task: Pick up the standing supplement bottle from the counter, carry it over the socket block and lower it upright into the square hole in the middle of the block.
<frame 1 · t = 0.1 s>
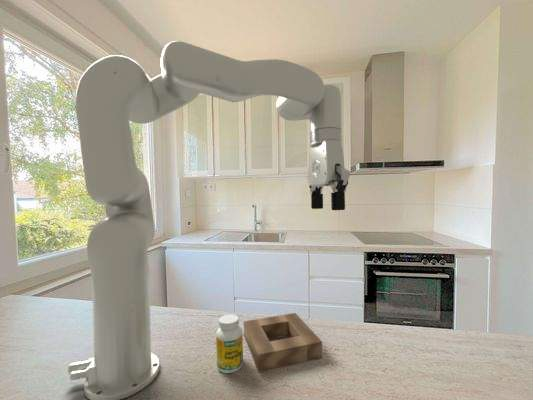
hand: (326, 209, 61), 31 cm above the countertop, tool pointing down, fingers open, 9 cm apart
socket block: (279, 345, 57), on the countertop
supplement bottle: (230, 366, 51), on the countertop
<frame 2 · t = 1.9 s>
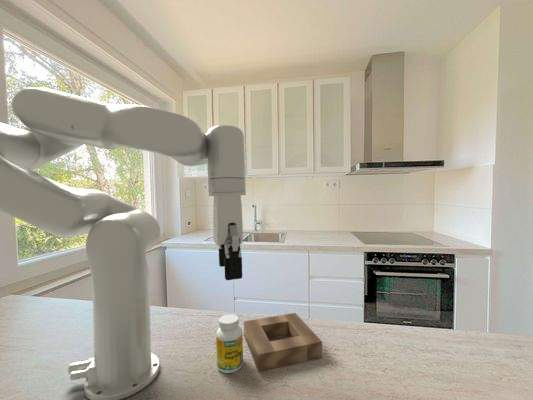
hand: (229, 271, 51), 19 cm above the countertop, tool pointing down, fingers open, 9 cm apart
nothing on the countertop moved.
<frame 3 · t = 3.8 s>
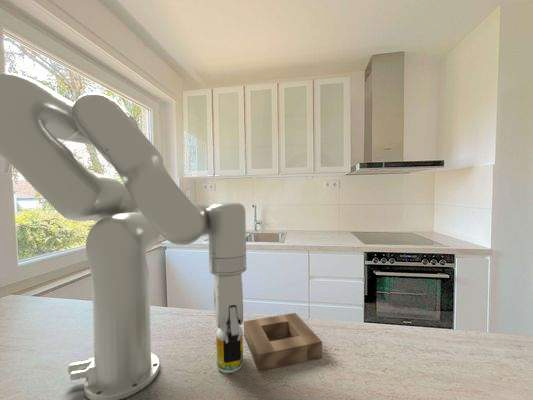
hand: (229, 350, 51), 3 cm above the countertop, tool pointing down, fingers closed on supplement bottle, 5 cm apart
supplement bottle: (230, 366, 51), on the countertop, touching gripper
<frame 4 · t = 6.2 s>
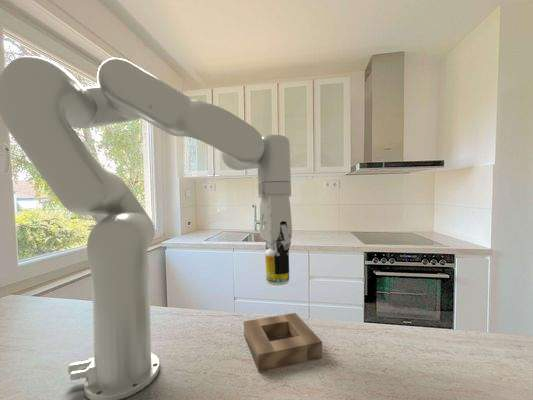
hand: (277, 268, 57), 18 cm above the countertop, tool pointing down, fingers closed on supplement bottle, 5 cm apart
supplement bottle: (277, 282, 57), point 15 cm above the countertop, touching gripper
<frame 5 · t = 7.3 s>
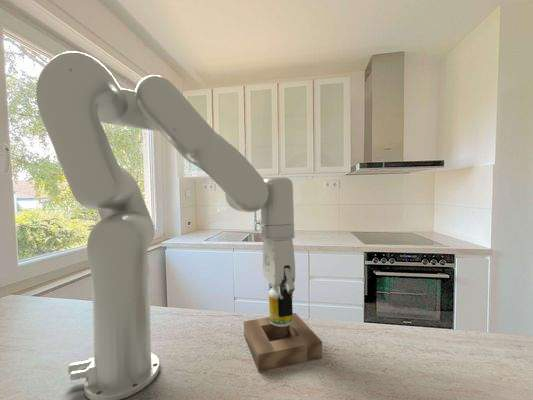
hand: (280, 308, 57), 8 cm above the countertop, tool pointing down, fingers closed on supplement bottle, 5 cm apart
supplement bottle: (281, 322, 57), point 5 cm above the countertop, touching gripper
when the fingers open (4 cm above the countertop, at t = 8.4 s): supplement bottle drops 1 cm, resting in socket block.
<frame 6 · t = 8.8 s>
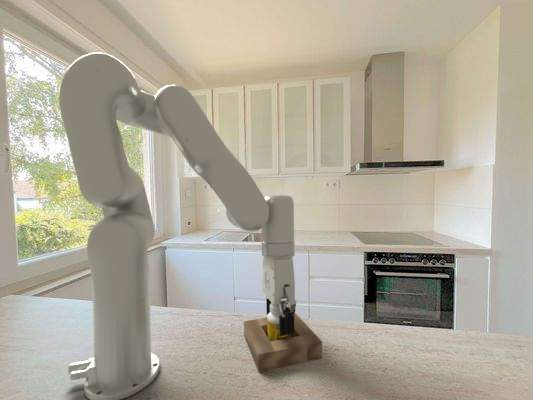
hand: (279, 323, 57), 5 cm above the countertop, tool pointing down, fingers open, 9 cm apart
supplement bottle: (279, 346, 57), resting in socket block
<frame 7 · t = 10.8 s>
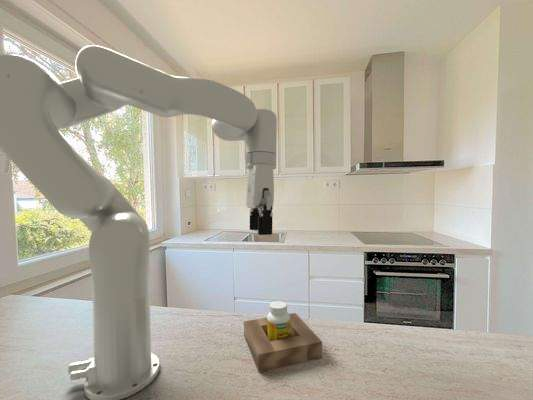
hand: (260, 232, 61), 26 cm above the countertop, tool pointing down, fingers open, 9 cm apart
nothing on the countertop moved.
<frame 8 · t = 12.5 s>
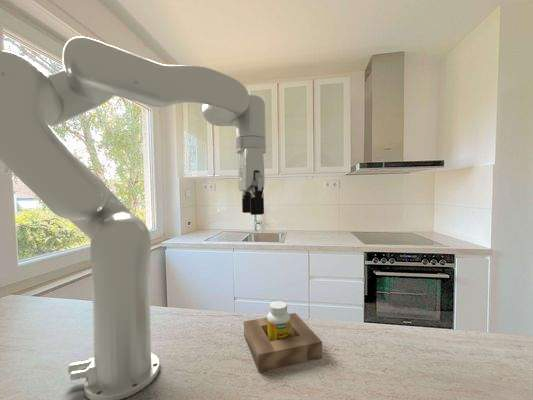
hand: (252, 213, 64), 30 cm above the countertop, tool pointing down, fingers open, 9 cm apart
nothing on the countertop moved.
at the end: supplement bottle 0.2 cm off-centre on the socket block, point 0.0 cm above the socket block's base; supplement bottle tilted 0°; the gripper is holding nothing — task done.
